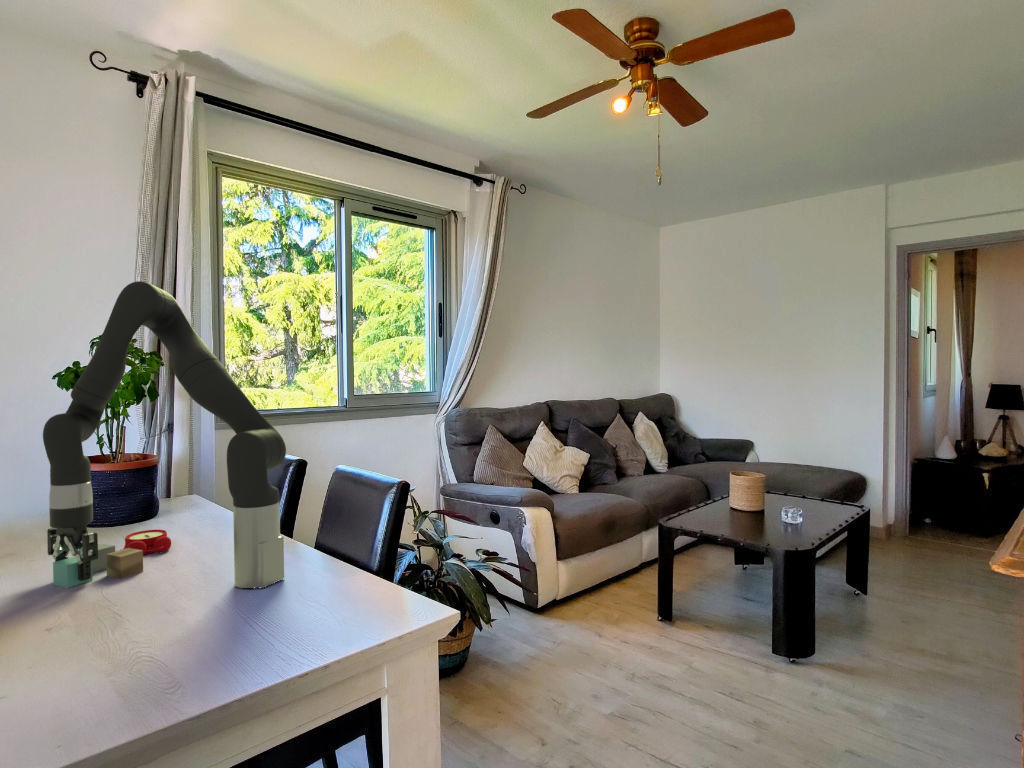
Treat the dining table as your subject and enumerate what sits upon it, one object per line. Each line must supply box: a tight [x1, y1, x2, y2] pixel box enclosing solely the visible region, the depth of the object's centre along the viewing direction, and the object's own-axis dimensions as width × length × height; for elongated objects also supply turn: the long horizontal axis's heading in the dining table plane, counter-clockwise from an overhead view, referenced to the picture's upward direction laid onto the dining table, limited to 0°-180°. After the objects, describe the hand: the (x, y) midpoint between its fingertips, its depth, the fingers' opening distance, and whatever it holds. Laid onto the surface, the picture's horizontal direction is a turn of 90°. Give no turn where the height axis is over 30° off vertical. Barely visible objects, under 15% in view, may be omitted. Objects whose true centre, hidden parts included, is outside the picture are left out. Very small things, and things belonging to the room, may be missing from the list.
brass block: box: [106, 548, 144, 580], centre depth 130 cm, size 5×5×5 cm
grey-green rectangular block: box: [81, 542, 116, 574], centre depth 134 cm, size 5×5×5 cm
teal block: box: [52, 556, 94, 589], centre depth 124 cm, size 5×5×5 cm
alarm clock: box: [123, 529, 172, 556], centre depth 147 cm, size 10×6×15 cm
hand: (73, 577), depth 124 cm, fingers open, 7 cm apart
